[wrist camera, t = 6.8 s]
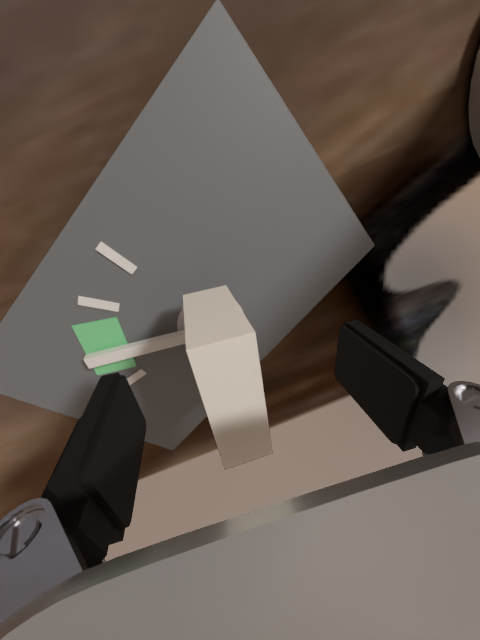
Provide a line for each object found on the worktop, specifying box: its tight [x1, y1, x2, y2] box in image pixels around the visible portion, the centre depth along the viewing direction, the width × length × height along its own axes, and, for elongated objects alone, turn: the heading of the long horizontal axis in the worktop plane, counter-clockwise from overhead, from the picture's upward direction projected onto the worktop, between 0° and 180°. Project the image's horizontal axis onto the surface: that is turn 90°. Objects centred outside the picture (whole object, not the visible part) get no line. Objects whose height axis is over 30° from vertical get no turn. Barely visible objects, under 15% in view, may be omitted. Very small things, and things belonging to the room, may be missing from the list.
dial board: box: [0, 0, 375, 451], centre depth 15 cm, size 22×14×2 cm, turn 137°
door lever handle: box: [83, 285, 273, 470], centre depth 11 cm, size 6×9×7 cm
